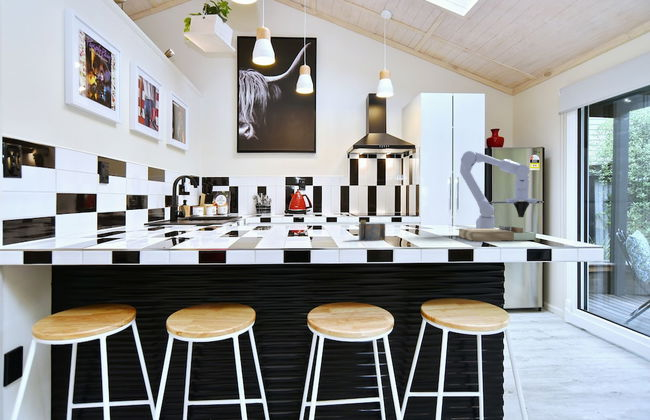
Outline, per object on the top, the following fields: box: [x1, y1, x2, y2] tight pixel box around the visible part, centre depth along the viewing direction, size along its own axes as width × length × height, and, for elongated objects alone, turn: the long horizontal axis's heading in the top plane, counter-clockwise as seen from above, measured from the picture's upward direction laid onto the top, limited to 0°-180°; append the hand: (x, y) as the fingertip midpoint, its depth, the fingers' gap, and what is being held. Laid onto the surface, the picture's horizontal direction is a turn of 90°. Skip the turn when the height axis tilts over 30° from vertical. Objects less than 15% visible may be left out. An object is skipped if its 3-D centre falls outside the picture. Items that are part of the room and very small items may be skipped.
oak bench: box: [458, 228, 514, 242], centre depth 159 cm, size 15×18×4 cm
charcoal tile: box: [498, 225, 511, 231], centre depth 162 cm, size 5×5×2 cm
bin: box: [510, 229, 537, 242], centre depth 159 cm, size 15×10×4 cm, turn 2°
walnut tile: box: [510, 226, 524, 233], centre depth 155 cm, size 5×5×2 cm
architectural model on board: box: [358, 219, 386, 241], centre depth 153 cm, size 11×3×10 cm, turn 99°
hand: (521, 217), depth 169 cm, fingers closed
